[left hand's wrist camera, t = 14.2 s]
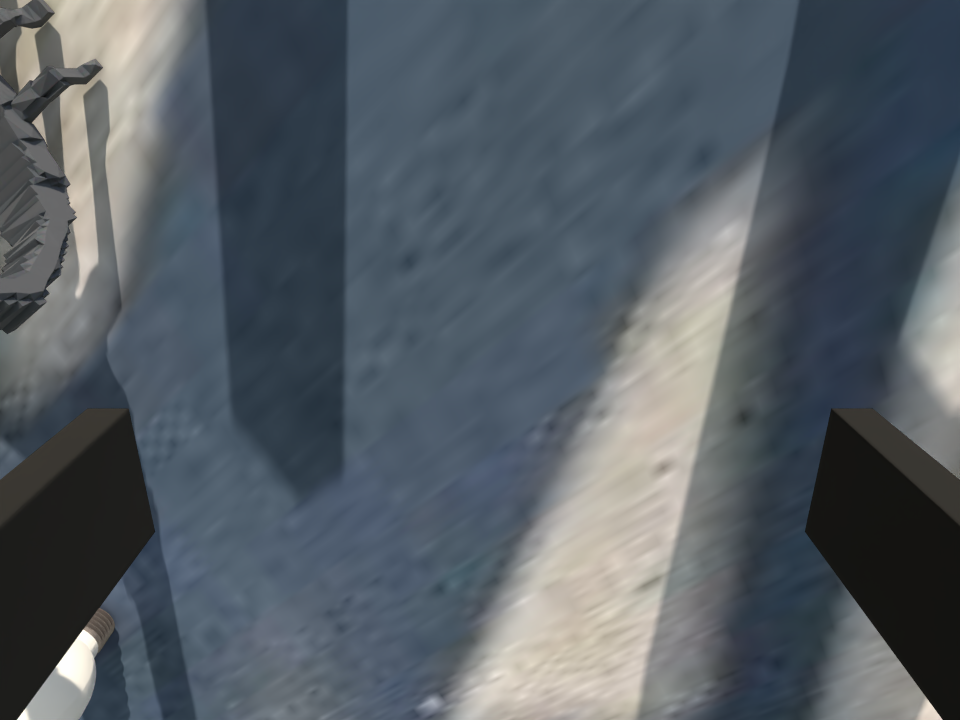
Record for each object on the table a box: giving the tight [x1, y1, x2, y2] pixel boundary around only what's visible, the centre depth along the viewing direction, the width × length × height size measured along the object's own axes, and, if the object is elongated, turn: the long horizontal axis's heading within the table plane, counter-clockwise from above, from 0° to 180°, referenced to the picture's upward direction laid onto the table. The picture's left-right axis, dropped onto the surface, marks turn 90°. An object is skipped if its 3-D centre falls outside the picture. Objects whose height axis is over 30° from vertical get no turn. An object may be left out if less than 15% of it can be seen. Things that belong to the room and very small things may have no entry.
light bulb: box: [17, 608, 115, 720], centre depth 49 cm, size 7×7×11 cm
